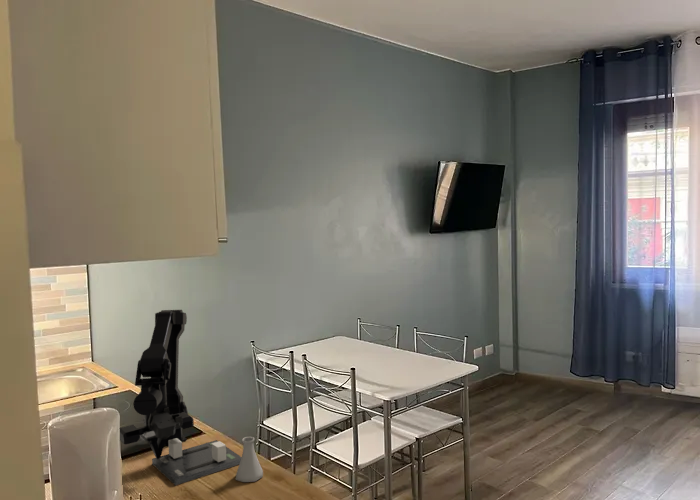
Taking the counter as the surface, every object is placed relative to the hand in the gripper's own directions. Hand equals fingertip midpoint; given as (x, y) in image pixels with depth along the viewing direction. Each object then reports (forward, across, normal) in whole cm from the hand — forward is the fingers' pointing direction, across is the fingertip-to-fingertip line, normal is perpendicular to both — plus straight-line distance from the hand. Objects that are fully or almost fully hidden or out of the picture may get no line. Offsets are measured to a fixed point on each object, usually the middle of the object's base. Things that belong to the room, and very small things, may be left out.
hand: (158, 458), depth 154 cm
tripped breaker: (+1, +5, 0) cm, 5 cm away
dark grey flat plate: (+2, +9, -5) cm, 10 cm away
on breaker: (+1, +13, -10) cm, 16 cm away
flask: (+3, +16, -21) cm, 27 cm away
